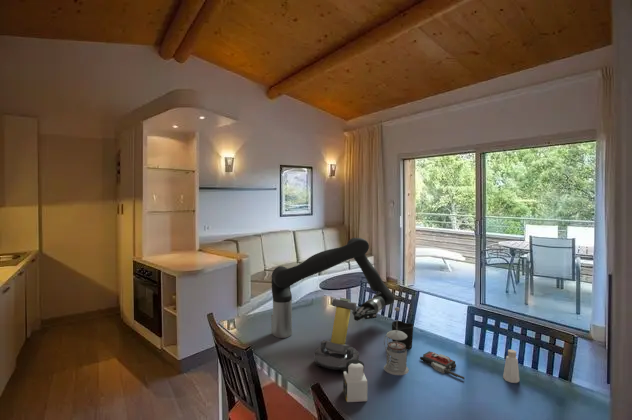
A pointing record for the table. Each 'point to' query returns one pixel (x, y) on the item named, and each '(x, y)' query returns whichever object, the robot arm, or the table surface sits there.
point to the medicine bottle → (355, 382)
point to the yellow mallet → (340, 325)
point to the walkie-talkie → (440, 363)
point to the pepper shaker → (511, 367)
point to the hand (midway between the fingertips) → (356, 318)
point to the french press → (398, 359)
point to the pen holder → (405, 328)
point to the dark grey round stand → (334, 357)
